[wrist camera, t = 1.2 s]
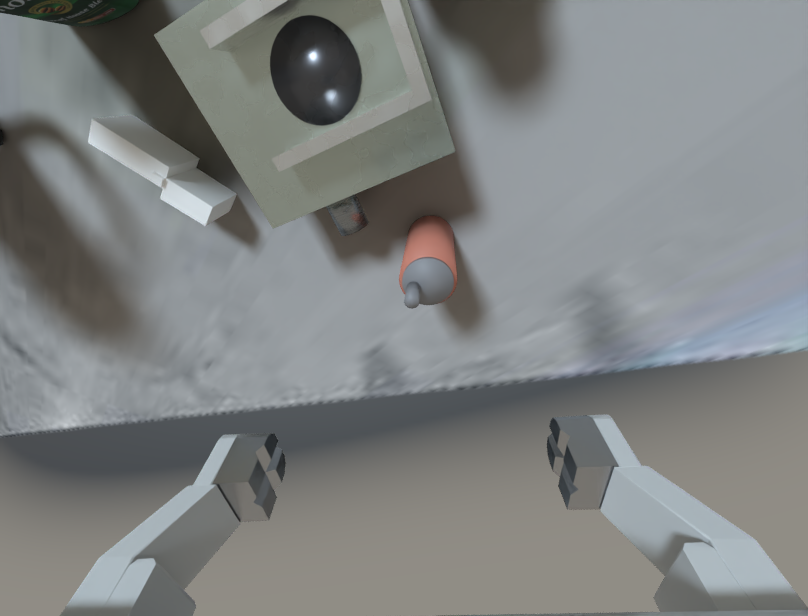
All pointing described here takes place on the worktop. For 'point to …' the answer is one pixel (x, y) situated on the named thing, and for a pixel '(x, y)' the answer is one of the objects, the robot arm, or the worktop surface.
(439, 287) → the spout can
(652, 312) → the worktop surface
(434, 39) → the worktop surface
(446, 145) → the pale green square box
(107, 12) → the coffee jar
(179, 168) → the white stepped block
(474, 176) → the worktop surface
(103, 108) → the worktop surface
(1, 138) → the coffee press
